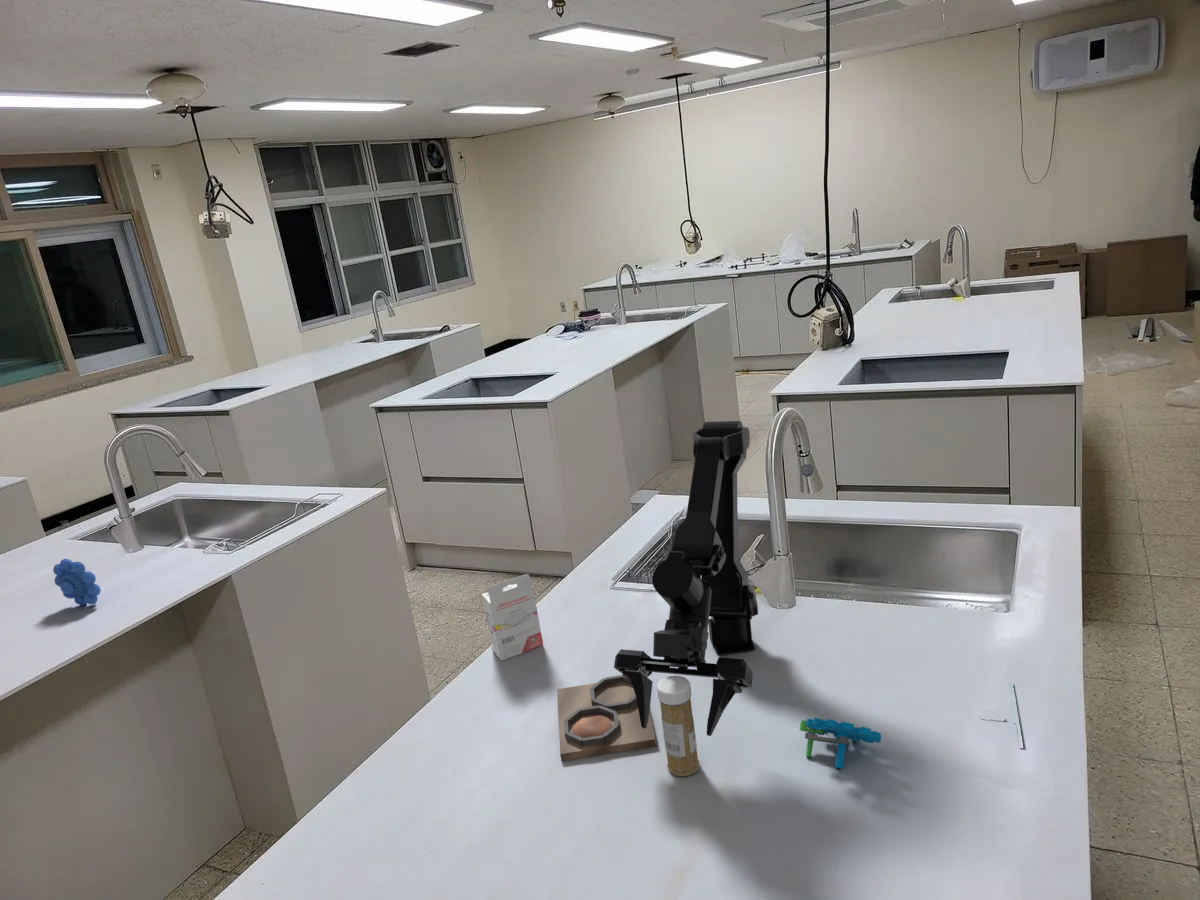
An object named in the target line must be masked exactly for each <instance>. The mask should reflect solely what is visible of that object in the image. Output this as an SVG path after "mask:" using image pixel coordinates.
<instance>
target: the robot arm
mask: <svg viewBox="0 0 1200 900" xmlns="http://www.w3.org/2000/svg"><path fill="white" fill-rule="evenodd" d="M692 437H693V446H692V447H693V458H694V463H693V469H692V475H691V476H692V477H691V483H690V488H689V495H688V501H687V508H686V514H685V518H684V519H683V520H682V521H681V523H680V524H678V526H677V527H676V528H675V531H674V536H673V539H672V543H670V545H669V546H668V549H667V551H666V552H665V554H664V557H663V559H662V560H661V561H662V562H661V563H659V564H658V565H657V566H656V568H655V570H654V571H653V573H652V577H651V578H652V586H653V588H654V590H655V591H656V593H658V595H659V596H660V597H661V598H662V599H663V601H665V602H666V603H667V605H669V614H668V619H666V620H665V624H664V629H661V630H657V631H654V632H653V650H652V651H653V652H652V653H653V657H655V658H652V657H651V656H649V655H648V653H646V652H645V651H644V650H633V649H622V648H621V649H620V650H619V651H618V652H617V653H616V655H615V658H614V665H613V669H616V670H617V671H618V672H619V673H621V675H623V676H624V677H626V678H627V679H628V680H630V681H631V683H632V686H633V689H634V692H635V695H636V700H637V705H638V711H639V716H640V721H641V727H642V728H645V729H646V727H647V723H648V719H649V712H651V711H650V709H651V700H652V691H653V680H651V679H650V678H649V677H650V676H651V675H652V674H653V673H656V674H657V673H660V674H670V675H671V674H673V675H679V676H680V675H681V676H690V677H691V676H693V677H703V678H704V677H705V678H712V696H711V700H710V701H711V702H710V705H709V711H708V717H707V722H706V736H708V737H712V735H713V733H714V731H715V730H716V728H717V725H718V723H719V721H720V719H721V717H722V715H723V713H724V711H725V709H726V708H727V706H728V705H729V704H730V702H731V700H732V699H733V698H734V696H735V694H742V693H743V688H744V689H747V688H748V689H749V688H753V679H754V678H753V676H754V675H753V670H752V668H751V667H750V666H749V665H748V663H747V662H746V661H745V659H744V658H737V657H736V658H735V657H724V656H722V655H729V654H735V653H739V652H740V653H741V652H748V651H753V650H754V651H755V649H756V645H755V643H754V641H753V635H752V625H751V623H752V622H751V620H752V619H753V617H755V616H757V615H759V606H758V600H757V594H756V593H755V590H754V589H753V587H752V586H751V585H749V575H748V571H747V570H746V569H745V567H744V565H743V564H742V562H741V560H740V559H739V524H738V523H739V521H738V519H739V518H738V515H739V514H738V512H739V511H738V507H739V506H738V472H739V470H740V469H741V467H742V466H743V464H744V462H745V460H746V459H747V451H748V448H749V446H750V440H751V437H750V428H749V427H744V425H743V422H742V421H741V420H718V421H715V420H714V421H704V423H703V425H702V428H700V427H699V428H697V429H696V430H695V431H693V433H692ZM708 640H710V643H711V646H712V647H713V648H715V650H716V653H717V655H719V656H718V658H717V661H716V663H709V662H707V661H706V659H705V658H706V652H707V651H706V650H707V649H708ZM662 658H663V659H662Z"/></svg>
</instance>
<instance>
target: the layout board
mask: <svg viewBox="0 0 1200 900" xmlns="http://www.w3.org/2000/svg"><path fill="white" fill-rule="evenodd" d="M556 692H557V693H556V694H557V695H556V697H557V715H558V716H557V717H558V720H557V721H558V733H559V734H558V735H559V736H558V738H559V755H560V759H561V760H560V761H561V762H564V761H571V760H577V759H583V758H589V757H596V756H603V755H609V754H614V753H615V754H616V753H619V752H620V753H622V752H626V751H627V752H628V751H632V750H633V751H634V750H641V749H646V748H651V747H653V748H654V747H657V739H656V735H655V730H654V727H653V726H654V725H653V721H652V717H651V714H650V712H651V711H649V719H648V723H647V727H646V729H645V728H642V727H641V721H640V716H639V711H638V705H637V700H636V695H635V692H634V689H633V686H632V683H631V681H630V680H628V679H627V678H626V677H624V676H623V674H619V675H612V676H605V677H603V678H602V679H600V680H598V681H597V682H594V683H587V684H581V685H575V686H569V687H563V688H562V687H561V688H557V689H556Z"/></svg>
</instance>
